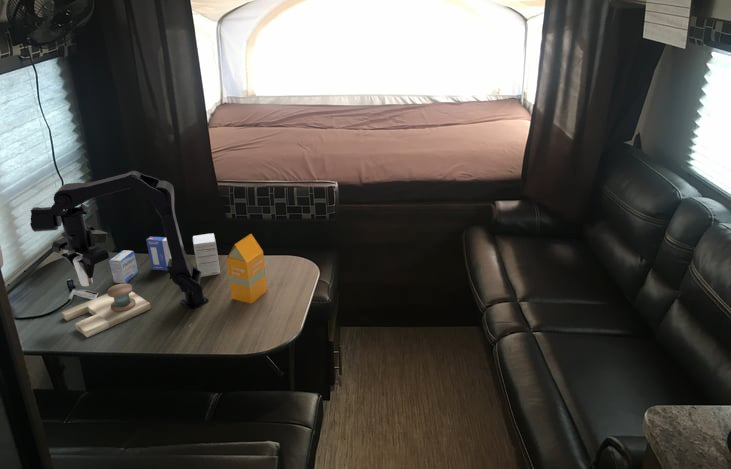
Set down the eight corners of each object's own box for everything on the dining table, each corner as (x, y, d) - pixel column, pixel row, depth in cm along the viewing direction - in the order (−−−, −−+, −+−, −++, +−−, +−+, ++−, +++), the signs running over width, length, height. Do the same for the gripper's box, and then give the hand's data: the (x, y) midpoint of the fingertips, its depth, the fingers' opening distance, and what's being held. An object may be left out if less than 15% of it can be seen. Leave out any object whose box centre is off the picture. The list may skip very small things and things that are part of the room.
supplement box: (197, 268, 199) (192, 235, 194) (219, 264, 201) (214, 232, 196) (198, 277, 193) (193, 244, 188) (220, 274, 195) (215, 241, 189)
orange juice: (267, 290, 184) (261, 235, 176) (251, 303, 177) (244, 246, 168) (247, 286, 187) (241, 231, 179) (231, 298, 180) (223, 242, 171)
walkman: (152, 269, 199) (145, 238, 194) (155, 266, 201) (149, 235, 196) (173, 271, 197) (167, 240, 192) (176, 267, 200) (171, 236, 195)
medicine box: (125, 284, 190) (120, 261, 186) (113, 282, 191) (108, 260, 187) (138, 272, 197) (134, 250, 193) (127, 271, 198) (122, 249, 194)
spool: (139, 304, 174) (136, 288, 171) (118, 314, 169) (114, 297, 166) (128, 297, 178) (125, 281, 175) (107, 306, 173) (103, 290, 171)
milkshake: (101, 281, 170) (94, 251, 166) (85, 289, 166) (78, 258, 162) (90, 277, 172) (84, 248, 168) (75, 285, 168) (68, 255, 164)
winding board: (151, 308, 175) (149, 303, 174) (87, 337, 162) (85, 331, 161) (125, 291, 185) (124, 286, 184) (63, 317, 171) (61, 312, 170)
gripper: (120, 224, 164) (129, 272, 170) (80, 212, 172) (90, 258, 179) (85, 239, 155) (97, 288, 161) (45, 225, 164) (57, 272, 170)
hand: (86, 276), depth 168 cm, fingers closed on milkshake, 4 cm apart
